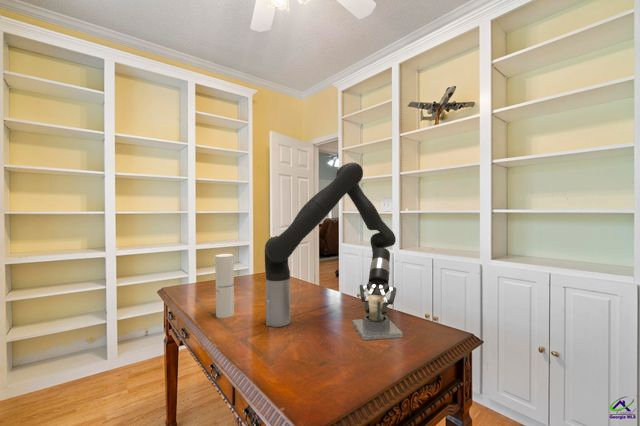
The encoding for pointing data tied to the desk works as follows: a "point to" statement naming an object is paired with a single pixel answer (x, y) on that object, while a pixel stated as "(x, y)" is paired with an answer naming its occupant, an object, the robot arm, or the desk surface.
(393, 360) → the desk surface
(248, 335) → the desk surface
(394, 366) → the desk surface
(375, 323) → the socket plate
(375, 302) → the cream rounded cylinder
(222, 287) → the cylindrical container
